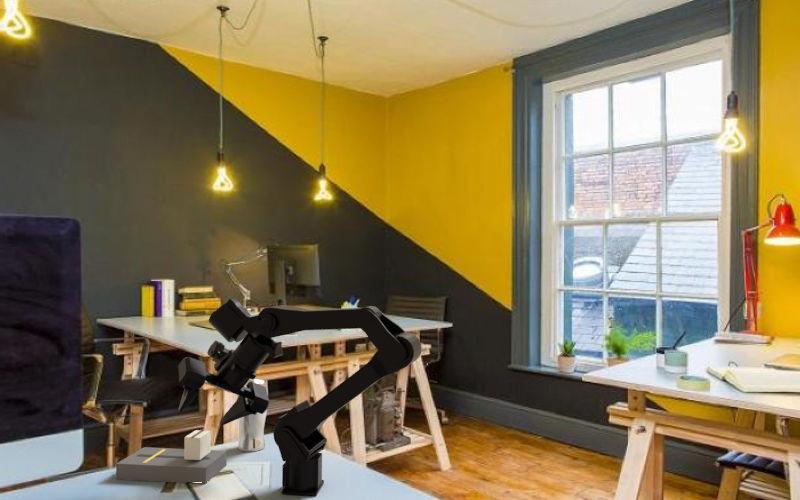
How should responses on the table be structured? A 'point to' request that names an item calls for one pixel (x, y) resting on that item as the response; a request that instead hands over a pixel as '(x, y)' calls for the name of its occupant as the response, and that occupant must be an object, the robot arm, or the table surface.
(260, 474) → the table surface
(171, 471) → the fader console
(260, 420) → the beer glass
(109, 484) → the table surface
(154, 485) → the table surface
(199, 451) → the fader tab
